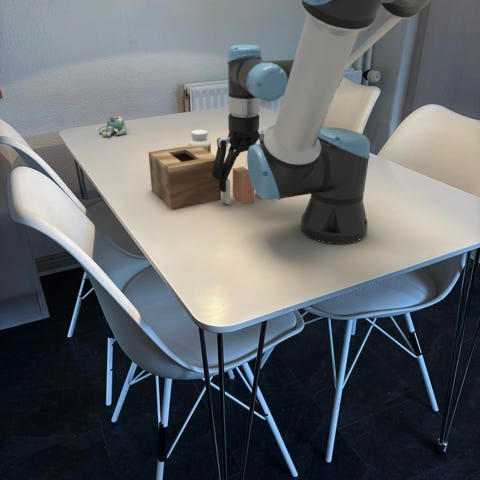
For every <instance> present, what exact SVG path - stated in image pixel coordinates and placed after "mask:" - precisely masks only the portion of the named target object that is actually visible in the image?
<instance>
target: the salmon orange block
mask: <svg viewBox="0 0 480 480" xmlns="http://www.w3.org/2000/svg"><path fill="white" fill-rule="evenodd" d="M232 198H233V199H235V200H236V201H238V202H239V203H240V204H241V205H243V206H246V205H250V204H254V203H255V190H254V188H253V185H252V183H251V180H250V176H249V171H248V168H245V167H244V166H239V167H234V168H233V167H232Z"/></svg>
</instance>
